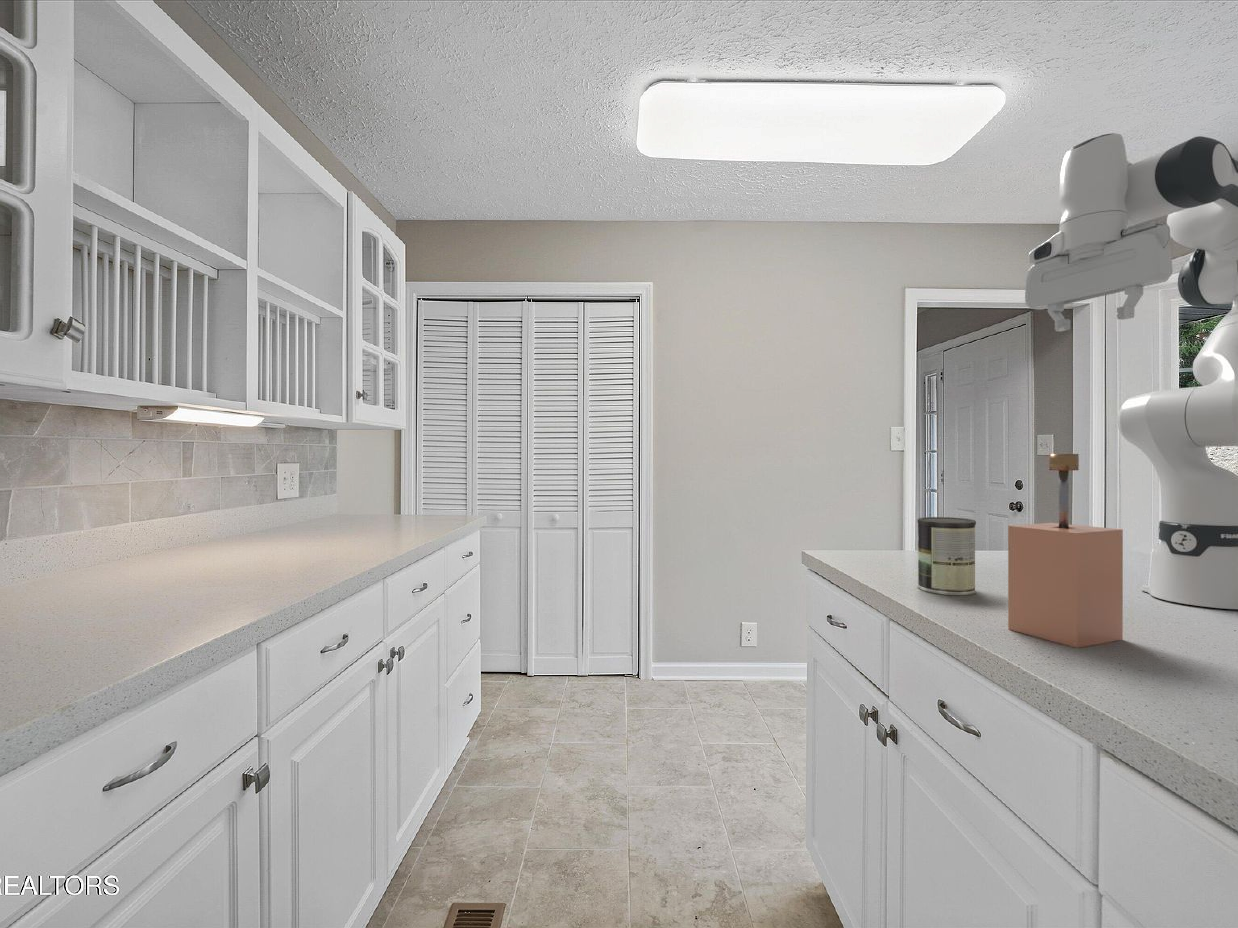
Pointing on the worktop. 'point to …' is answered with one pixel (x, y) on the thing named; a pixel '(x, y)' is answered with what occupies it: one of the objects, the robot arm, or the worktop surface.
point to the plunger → (1064, 482)
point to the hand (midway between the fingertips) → (1092, 325)
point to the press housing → (1066, 583)
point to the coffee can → (946, 555)
